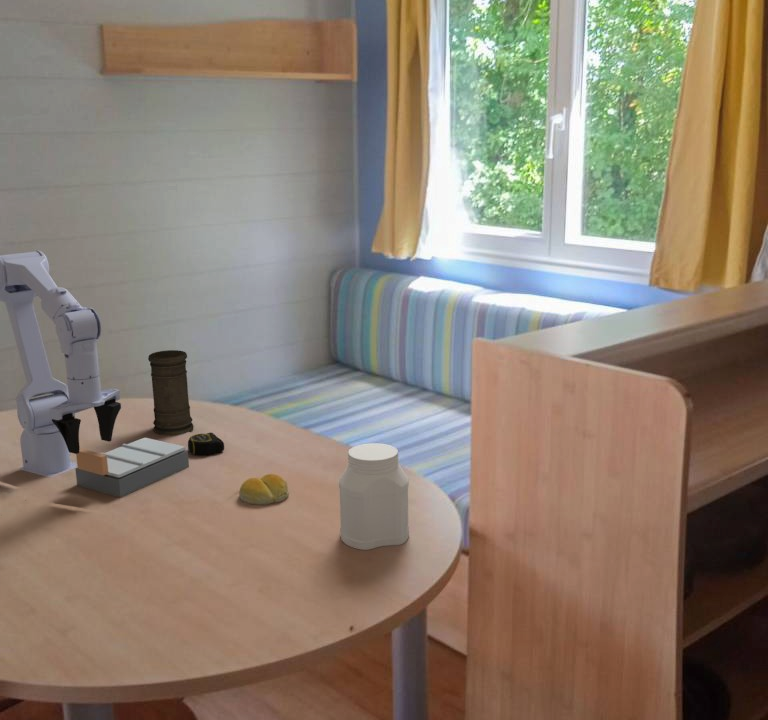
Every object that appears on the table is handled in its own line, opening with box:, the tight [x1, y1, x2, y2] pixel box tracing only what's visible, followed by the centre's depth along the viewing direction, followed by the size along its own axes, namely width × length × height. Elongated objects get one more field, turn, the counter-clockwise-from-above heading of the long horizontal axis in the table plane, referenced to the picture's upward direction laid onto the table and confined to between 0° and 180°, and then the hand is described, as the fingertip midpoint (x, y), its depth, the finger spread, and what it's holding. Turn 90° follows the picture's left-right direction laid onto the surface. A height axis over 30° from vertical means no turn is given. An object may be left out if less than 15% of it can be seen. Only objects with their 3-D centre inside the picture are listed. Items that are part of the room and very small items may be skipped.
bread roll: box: [238, 473, 290, 506], centre depth 174 cm, size 8×9×4 cm
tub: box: [74, 450, 190, 498], centre depth 184 cm, size 12×18×4 cm, turn 148°
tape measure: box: [187, 432, 225, 457], centre depth 197 cm, size 7×7×4 cm
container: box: [147, 349, 195, 436], centre depth 210 cm, size 9×9×18 cm
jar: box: [338, 442, 410, 551], centre depth 155 cm, size 12×10×15 cm
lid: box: [75, 437, 186, 478], centre depth 182 cm, size 11×19×4 cm, turn 148°
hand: (90, 446), depth 174 cm, fingers open, 7 cm apart
